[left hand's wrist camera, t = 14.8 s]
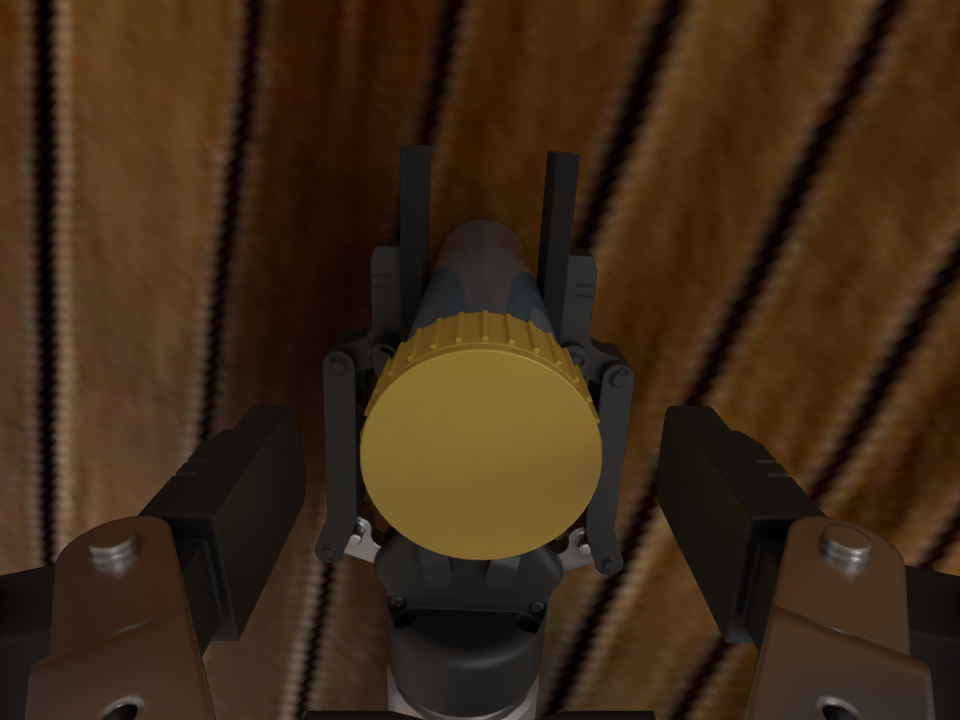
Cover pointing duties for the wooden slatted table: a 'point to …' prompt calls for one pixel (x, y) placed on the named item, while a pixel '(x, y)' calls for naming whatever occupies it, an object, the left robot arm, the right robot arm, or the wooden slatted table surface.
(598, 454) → the lid
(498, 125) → the wooden slatted table surface
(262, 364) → the wooden slatted table surface
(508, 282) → the grey bottle
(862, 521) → the wooden slatted table surface
